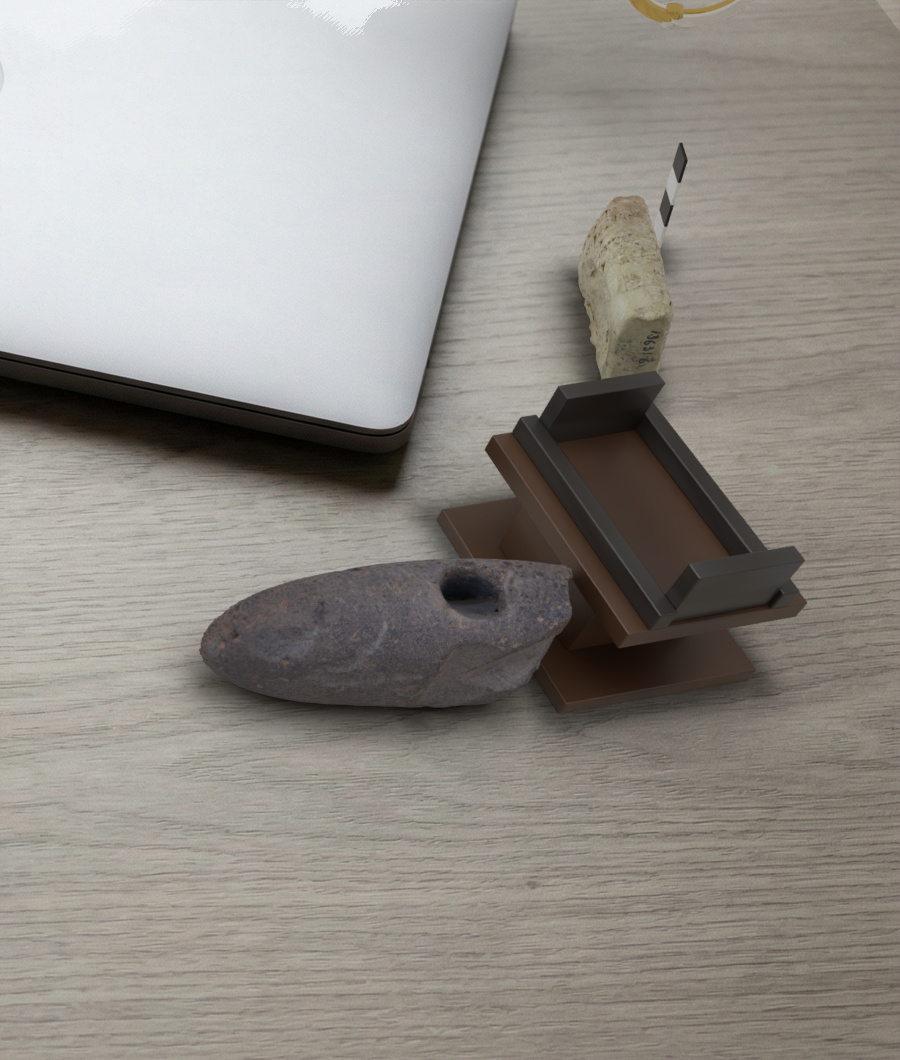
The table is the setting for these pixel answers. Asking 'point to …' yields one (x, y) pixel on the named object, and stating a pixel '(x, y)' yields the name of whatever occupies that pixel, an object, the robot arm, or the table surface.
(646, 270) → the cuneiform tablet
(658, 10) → the ring
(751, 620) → the stand
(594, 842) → the table surface
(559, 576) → the perforated stone tool
